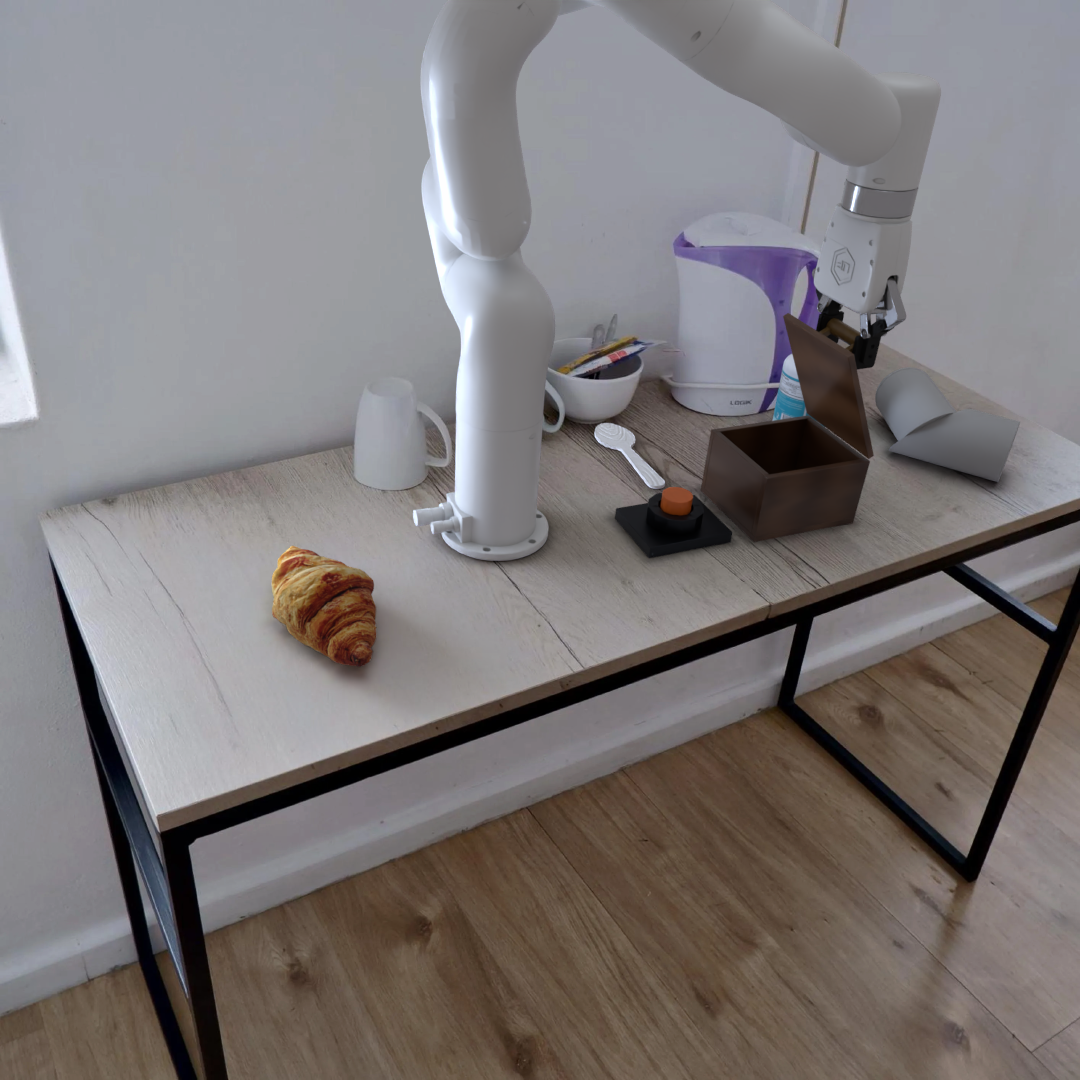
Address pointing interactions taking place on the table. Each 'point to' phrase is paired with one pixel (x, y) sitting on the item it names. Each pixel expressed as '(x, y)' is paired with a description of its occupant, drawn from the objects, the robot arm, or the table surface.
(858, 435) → the lid
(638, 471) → the spoon
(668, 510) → the button
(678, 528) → the switch block
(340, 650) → the croissant
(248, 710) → the table surface
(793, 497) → the tea box
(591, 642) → the table surface
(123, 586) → the table surface
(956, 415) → the elbow connector
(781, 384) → the pill bottle
